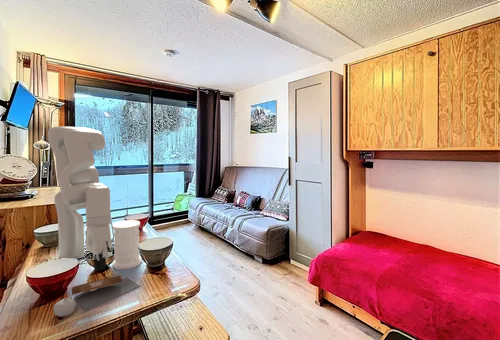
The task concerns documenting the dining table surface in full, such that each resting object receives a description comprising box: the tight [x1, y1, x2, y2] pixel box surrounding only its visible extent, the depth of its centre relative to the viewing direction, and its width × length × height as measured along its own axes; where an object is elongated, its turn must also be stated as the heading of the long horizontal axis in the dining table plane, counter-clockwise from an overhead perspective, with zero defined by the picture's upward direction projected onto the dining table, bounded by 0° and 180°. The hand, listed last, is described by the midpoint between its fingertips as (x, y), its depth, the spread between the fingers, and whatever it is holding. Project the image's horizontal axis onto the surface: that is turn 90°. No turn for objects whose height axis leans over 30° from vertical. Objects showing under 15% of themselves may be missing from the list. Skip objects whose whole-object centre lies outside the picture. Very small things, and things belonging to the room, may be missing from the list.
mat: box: [72, 276, 141, 313], centre depth 86 cm, size 10×18×1 cm, turn 144°
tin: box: [71, 274, 123, 296], centre depth 85 cm, size 15×3×8 cm
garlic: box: [53, 296, 77, 317], centre depth 75 cm, size 6×5×5 cm
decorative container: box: [112, 219, 143, 270], centre depth 108 cm, size 12×12×18 cm
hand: (100, 269), depth 89 cm, fingers closed
